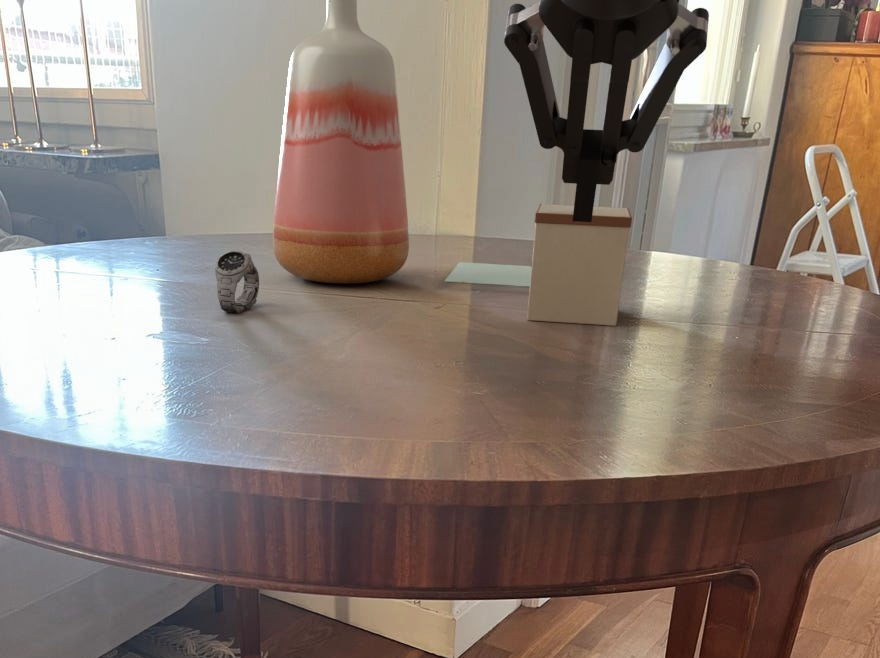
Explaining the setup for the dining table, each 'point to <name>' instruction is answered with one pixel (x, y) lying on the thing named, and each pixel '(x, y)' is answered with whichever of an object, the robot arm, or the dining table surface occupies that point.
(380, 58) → the vase
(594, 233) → the toy box
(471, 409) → the dining table surface
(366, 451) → the dining table surface
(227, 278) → the wristwatch
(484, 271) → the mat
